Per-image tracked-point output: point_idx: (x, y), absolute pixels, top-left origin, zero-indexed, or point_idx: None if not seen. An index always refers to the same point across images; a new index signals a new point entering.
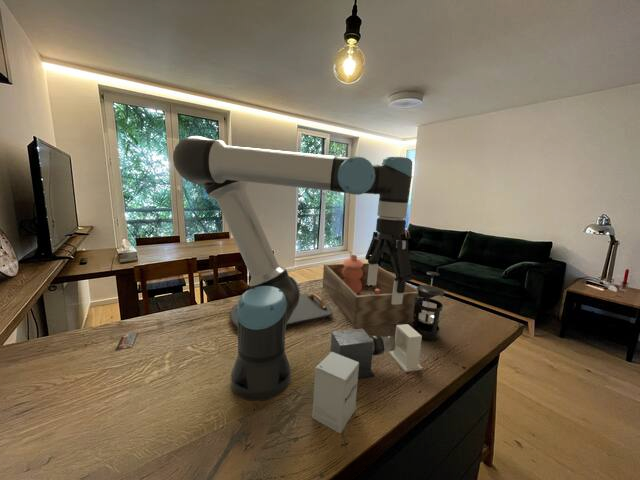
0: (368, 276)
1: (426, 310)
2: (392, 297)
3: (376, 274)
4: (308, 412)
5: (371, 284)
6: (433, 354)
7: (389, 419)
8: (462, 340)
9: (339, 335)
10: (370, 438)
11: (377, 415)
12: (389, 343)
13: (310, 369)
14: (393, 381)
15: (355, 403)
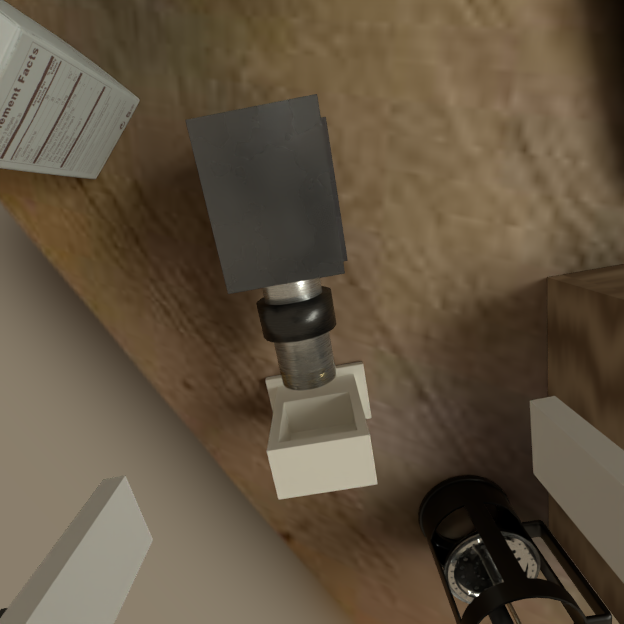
0: (611, 458)
1: (476, 600)
2: (88, 520)
3: (616, 565)
4: (76, 24)
5: (536, 436)
6: (349, 489)
7: (80, 270)
8: (414, 597)
9: (278, 133)
10: (14, 202)
11: (90, 242)
12: (281, 365)
13: (281, 46)
14: (225, 329)
15: (79, 177)
